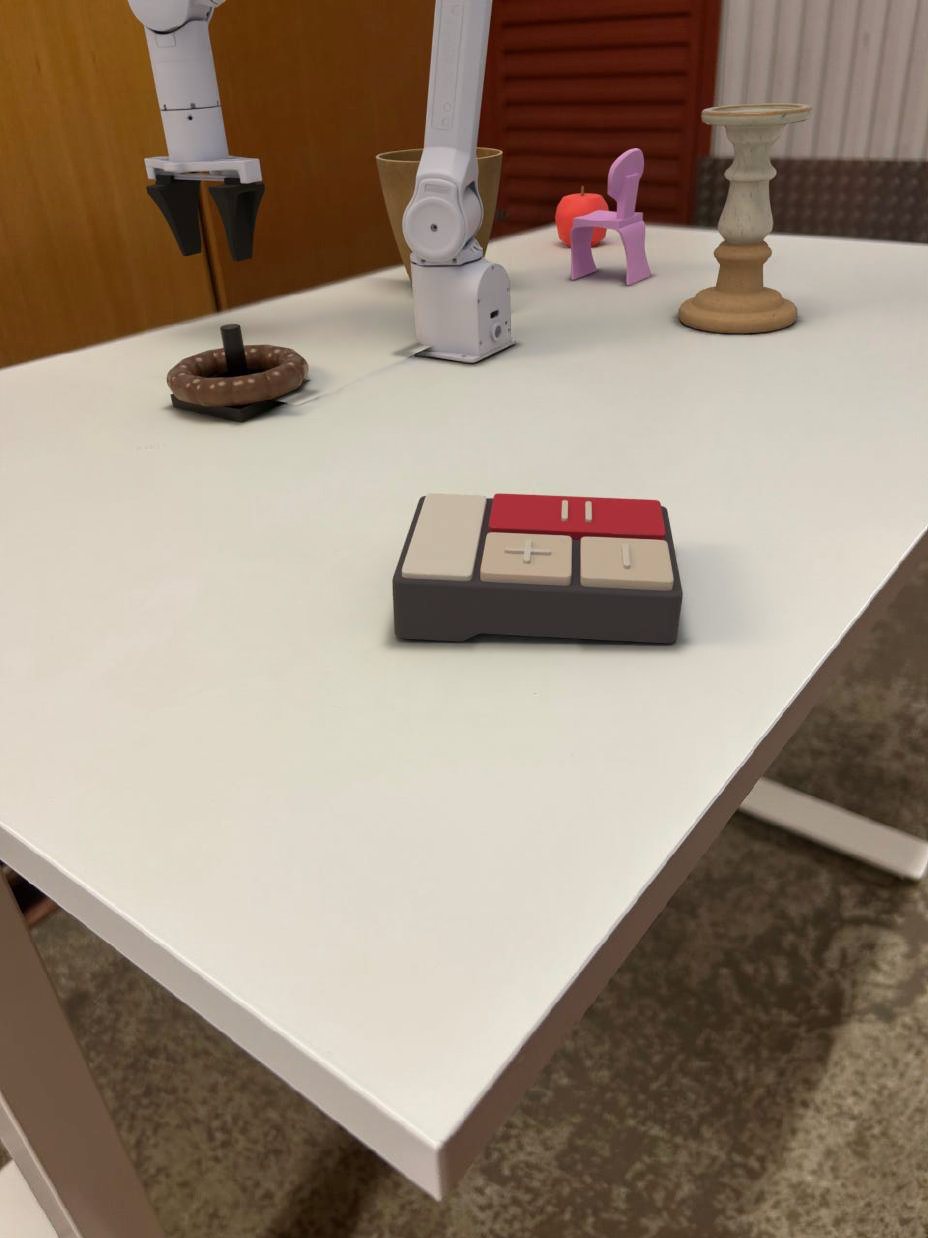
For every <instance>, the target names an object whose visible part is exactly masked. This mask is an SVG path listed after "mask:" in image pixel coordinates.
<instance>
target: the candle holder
mask: <svg viewBox="0 0 928 1238" xmlns="http://www.w3.org/2000/svg"><path fill="white" fill-rule="evenodd" d="M813 108H814V107H813V106H812V105H810V104H806V103H793V102H792V103H790V102H789V103H787V102H785V103H784V102H781V103H779V102H777V103H776V102H775V103H774V102H773V103H772V102H771V103H746V104H731V105H721V106H712V107H708V108H707V107H706V108H704V109H703V110H702V111H701V113H700V119H701V122H702V123H704V124H706V125H711V126H720V127H721V126H723V127H724V128H725V134H726V137H727V140H728V141H729V142H730V143H731V144H732V147H733V152H734V154H733V155H734V156H733V160H732V163H731V165H729V167H728V168H727V169H725V171H724V174H723V175H724V178H725V179H726V180H727V181H729V187H728V190H727V191H728V192H727V195H726V199H725V203H724V206H723V209H722V211H721V214H720V216H719V218H718V222H717V230H718V233H719V235H720V236H721V237H722V238H723V241H721V242H720V243H719V245H718V246H717V247H716V248H715V249H714V250H713V257H714V259H716V262H717V263H718V264H719V268H718V274H717V279H716V283H715V285H714V286H711V287H706V288H704V289H701V290H699V291H698V292H696V294H695V295H694V297H691V298H688V299H685V300H684V301H683V302H682V303H681V304H680V306H679V308H678V319H679V321H680V322H681V323H682V324H683V325H685V326H688V327H689V328H693V329H695V330H700V331H706V332H712V333H719V334H757V333H766V332H767V333H768V332H773V331H776V330H777V331H778V330H781V329H785V328H787V327H789V326H791V325H792V324H794V323H795V322H796V319H797V316H798V308H797V307H798V306H797V305H796V304H795V303H794V302H793V301H791V300H790V299H787V298H784V297H783V295H782V293H781V292H780V291H778V290H776V289H774V288H771V287H766V286H764V265H765V264H766V263H767V261H769V259H770V258H771V257H772V254H773V250H772V248H771V247H770V246H769V244H768V242H767V241H766V240H765V239H766V238H767V236H769V235H770V234H771V232H772V231H773V228H774V218H773V211H772V208H771V200H770V181H771V180H773V179H774V178H775V177H776V176H777V169H776V168H775V167H774V166H773V165H772V162H771V152H772V151H771V150H772V148H773V145H774V144H775V143H776V142H777V141H778V140H779V139H780V137H782V134H783V132H784V129H785V126H786V125H787V124H795V123H802V122H805V121H807V120H809V119H811V117H812V115H813V112H814V111H813Z"/></svg>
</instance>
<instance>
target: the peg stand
mask: <svg viewBox="0 0 928 1238" xmlns="http://www.w3.org/2000/svg"><path fill="white" fill-rule="evenodd" d="M219 331H220V335H221V342H222V348H224V353H225V359H226V364H227V370H228V374H224V375H219V376H215V378H226V377H239V376H245V375H250V374H256V373H261V372H264V371H248V367H247V361H246V355H245V349H244V345H245V344H244V337H243V332H242V326H241V325H240V324H238V323H227V324H224V325H221V326H220V327H219ZM310 381H311V379H307V378H305V379H304V380H303V382H302V383H301V385H303V384H305V383H307V382H310ZM170 399H171V404H172V407H173V408H177V409H181V410H186V411H189V412H194V413H199V414H203V415H206V416H207V415H208V416H213V417H216V418H221V419H225V420H228V421H229V420H230V421H234V422H239V423H244V422H245V421H248V420H250V419H253V418H255V417H257V416H260V415H262V414H265V413H266V412H269V411H271V410H274V409H276V408H278V407H281V406H284V405H285V404H287V402H286V401H282V400H281V401H280V400H277V399H271V400H267V401H262V402H256V403H251V404H246V405H240V406H202V405H197V404H193V403H188V402H184V401H181V400H179V399H178V398H176V396H175V395H174V394H173V393H170Z"/></svg>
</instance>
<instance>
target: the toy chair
mask: <svg viewBox="0 0 928 1238" xmlns="http://www.w3.org/2000/svg"><path fill="white" fill-rule="evenodd" d="M644 167H645V159H644V154H643V151H642V149H640V148H637V147H634V148H630V149H628V150H626V151H625V152H623V153H621V155H620V156H618V157H617V158H616V159H615V160H614V162H612V164H611V166H610V168H609V170H608V171H609V172H608V176H607V195H608V196H609V197H611V199H614V201H615V202H616V211H611V210H609V211H601V210H598V211H595V212H592V213H590V214H588V215H585V216H580V217H576V218H573V227H572V228H571V230H570V242H571V247H570V256H571V259H570V260H571V261H570V263H571V265H570V266H571V267H570V268H571V269H570V280H571V281H575V280H577V279H580V278H582V277H585V276H588V275H590V274H592V273H593V272H596V271H597V272H598V268H597V265H596V263H595V260H594V256H593V253H592V247H591V239H592V234H593V231H594V228H595V227H602V228H607V230H613V231H616V232H617V233H618V235H619V237H620V240H621V242H622V245H623V248H624V253H625V260H626V283H625V284H626V286H632V285H634V284H636V283H639V282H640V281H643V280H644V279H646V278H649V277H651V276H652V272H651V269H650V266H649V261H648V259H647V256H646V255H647V254H646V224H645V221H644V220H643V219H644V212H639V211H638V212H635V211H636V204H637V197H638V191H639V186H640V185H639V184H640V180H641V178H642V176H643V174H644V169H645V168H644Z"/></svg>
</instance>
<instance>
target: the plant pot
mask: <svg viewBox="0 0 928 1238" xmlns="http://www.w3.org/2000/svg"><path fill="white" fill-rule="evenodd" d="M423 150H424V148H415V149H413V148H412V149H404V150H397V151H388V152H383V153H379V154H377V155H375V160H376V166H377V172H378V177H379V182H380V187H381V191H382V195H383V199H384V204H385V208H386V212H387V215H388V219H389V222H390V227H391V229H392V230H391V231H392V233H393V235H394V239H395V243H396V246H397V248H398V251H399V255H400V258H401V260H402V263H403V265H404V268H405V271H406V274H407V276H408V278H409V281H410V283H411V284H412V274H411V260H410V254H411V253H412V252H413V251H412V250H411V249H410V248H409V246H408V244H407V243H406V240H405V238H404V234H403V228H402V221H403V215H404V212H405V210H406V207H407V206H408V204H409V202H410V201H411V199H412V197H413V195H414V191H415V184H416V175H417V171H418V167H419V164H420V160H421V157H422V153H423ZM503 153H504V152H503V151H502V150H501V149H497V148H489V147H478V146H477V148H476V155H477V162H478V169H479V172H478V192H479V195H480V198H481V201H482V204H483V221H482V224H481V227H480V229H479V231H478V232H477V233H476V235H475V236H474V238H475V239H476V240H477V242H478V243H479V245H480V247H482V249H483V257H484V258H485V257H486V254H487V250H488V247H489V246H488V245H489V242H490V238H491V232H492V228H493V224H494V219H495V213H496V208H497V207H496V206H497V200H498V195H499V187H500V181H501V180H500V179H501V171H502V163H503ZM485 259H486V258H485Z"/></svg>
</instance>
